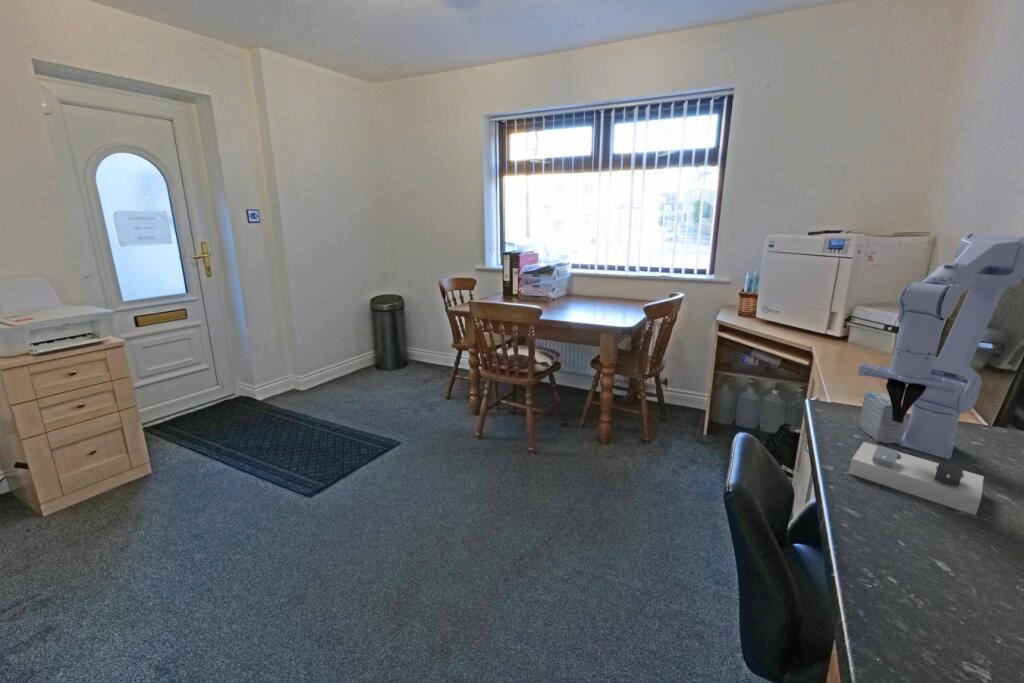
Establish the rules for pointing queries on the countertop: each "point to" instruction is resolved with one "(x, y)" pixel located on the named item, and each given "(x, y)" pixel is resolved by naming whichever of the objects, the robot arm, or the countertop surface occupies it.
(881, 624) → the countertop surface
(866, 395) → the medicine box
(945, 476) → the block
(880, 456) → the block
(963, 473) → the switch panel
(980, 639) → the countertop surface
